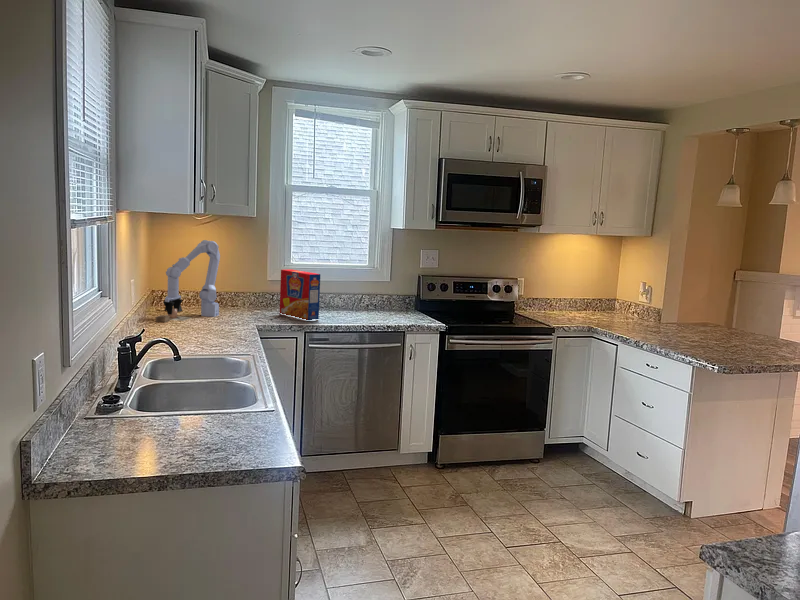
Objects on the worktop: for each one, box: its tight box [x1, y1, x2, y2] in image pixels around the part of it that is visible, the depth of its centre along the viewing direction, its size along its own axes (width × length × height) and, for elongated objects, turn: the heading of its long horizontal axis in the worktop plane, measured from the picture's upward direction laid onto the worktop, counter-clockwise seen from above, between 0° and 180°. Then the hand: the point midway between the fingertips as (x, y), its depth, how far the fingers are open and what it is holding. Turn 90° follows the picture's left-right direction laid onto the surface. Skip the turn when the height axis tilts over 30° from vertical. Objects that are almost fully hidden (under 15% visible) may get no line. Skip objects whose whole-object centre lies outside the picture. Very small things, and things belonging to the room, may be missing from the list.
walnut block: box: [155, 314, 170, 323], centre depth 322 cm, size 5×5×4 cm
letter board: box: [165, 314, 193, 322], centre depth 334 cm, size 16×12×1 cm
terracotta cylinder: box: [167, 307, 178, 319], centre depth 334 cm, size 5×5×5 cm
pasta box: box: [279, 269, 321, 320], centre depth 362 cm, size 28×8×28 cm, turn 47°
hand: (172, 313), depth 334 cm, fingers open, 7 cm apart
